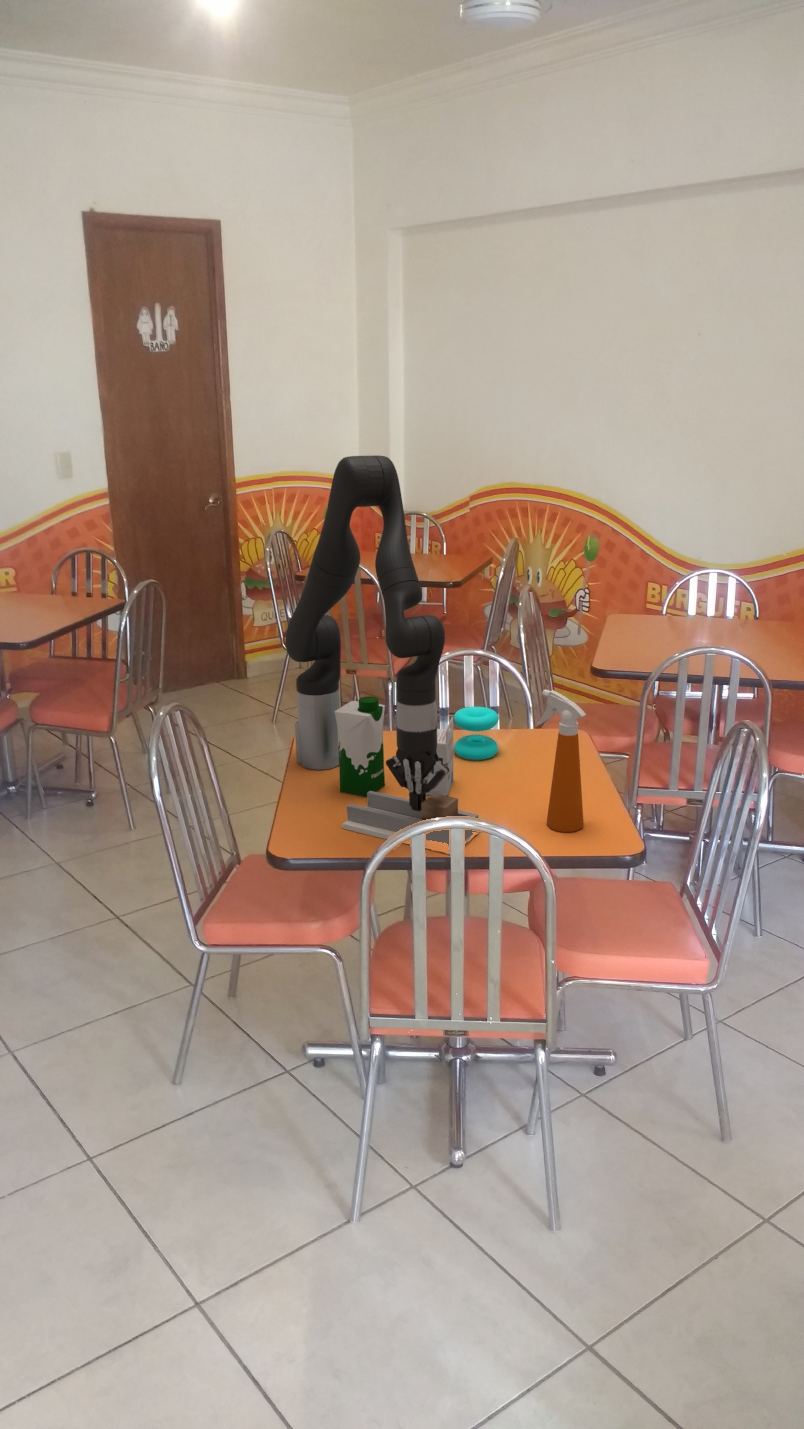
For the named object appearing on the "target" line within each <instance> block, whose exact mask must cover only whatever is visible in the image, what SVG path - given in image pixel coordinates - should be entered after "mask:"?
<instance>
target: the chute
mask: <svg viewBox="0 0 804 1429" xmlns="http://www.w3.org/2000/svg"><path fill="white" fill-rule="evenodd" d="M366 800H367V801H366V803H367V804H366V807H365V806H362V805H357V804H352V803H349V804H348V805H346V815H347V816H346V818H347V820H346V821H344V822H342V823H341V824H342V829H344V830H347V831H350V832H355V833H360V834H363V835H367V836H371V837H375V838H378V839H379V838H380V839H384V840H387V838H388V837H389V836H391V835H393V834H394V833H395V832H397V831H399V830H400V829H403V828H405V827H407V826H409V825H412V824H414V823H417V822H419V821H422V810H421V811H415V810H412V807H410V804H409V798H405V797H401V796H395V795H392V794H387V793H382V792H379V791H377V792H374V791H369V792H367V797H366ZM458 816H470V817H475V818H478V819H479V814H478V813H477V814H476V813H471V812H468V811H465V810H464V811H463V810H459V809H458ZM472 832H476V833H479V832H477V831H472V830H465V841H466V843H467V841H468V840H469V839H470V838H471V836H472V835H473V833H472ZM479 834H480V833H479ZM430 840H432V841H437V842H442V843H444V842H445V843H447V844H448V851H449V830H441V831H433V832H430V833H428V834H426V846H427V841H430ZM467 844H468V843H467Z"/></svg>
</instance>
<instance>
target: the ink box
mask: <svg viewBox="0 0 804 1429" xmlns="http://www.w3.org/2000/svg"><path fill="white" fill-rule="evenodd" d="M436 752H437V755H438V757H439V761H438V762H439V763H440V764H441V765H442V766H443V767H448V768H449V772H448V773H447V775H446V776H445V777H444V778H443V779H442V780H441V781H440V783H439V784H438V785H437V786H436V787H435V788H434V789H432V790H431V791H430V792H428V793H426V796H432V795H433V794H434V793H435V794H440V795H445V796H447V795H448V796H449V793H450V790H451V788H452V784H453V782H454V716H451V718H450V720H449V723H448V725H447V727H446V729H445V728H444V729H443V728H437V750H436ZM434 770H435V768H433V769H432V771H431V772H430V774H429V778H428V783H429V782H430V780H431V779H432V778H433V777H434V776H435V775H434V774H433V773H434Z"/></svg>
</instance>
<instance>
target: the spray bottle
mask: <svg viewBox="0 0 804 1429" xmlns="http://www.w3.org/2000/svg"><path fill="white" fill-rule="evenodd" d="M541 694H542V696H543V697H544V698H546V699H547V701H546V703H545V705H546V709H545V711H544V712H543V714H542V716H541V717H540V719H538V721H537V722H536V723H535V724H534V725H533V726H534V727H536V726H539V725H541V724H544V723H545V722H546V721H548V720H549V719H550V718H551V717H553V716H555V715H556V714H559V715H560V721H559V722H558V734H557V741H556V750H555V757H554V763H553V764H554V765H553V772H552V779H551V785H550V795H549V801H548V808H547V809H548V810H547V816H546V826H547V827H548V828H549V829H551V830H554V831H555V832H560V833H573V832H576V831H580V830H581V829H582V828H584V825H585V824H584V823H585V822H584V812H583V810H584V809H583V794H582V792H583V791H582V776H581V760H580V744H579V743H580V742H579V741H580V740H579V722H578V720H579V719H581V718H583V717H585V716H586V713H585V711H584V710H583V709H582V708H581V707H580V706H579V705H578V704H576V703H575V702H573V701H572V700H570V699H569V698H567V697H566V696H564V695H563V694H561V693H560V692H557V691H555V689H552V690H549V689H544V690H542V693H541Z"/></svg>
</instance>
